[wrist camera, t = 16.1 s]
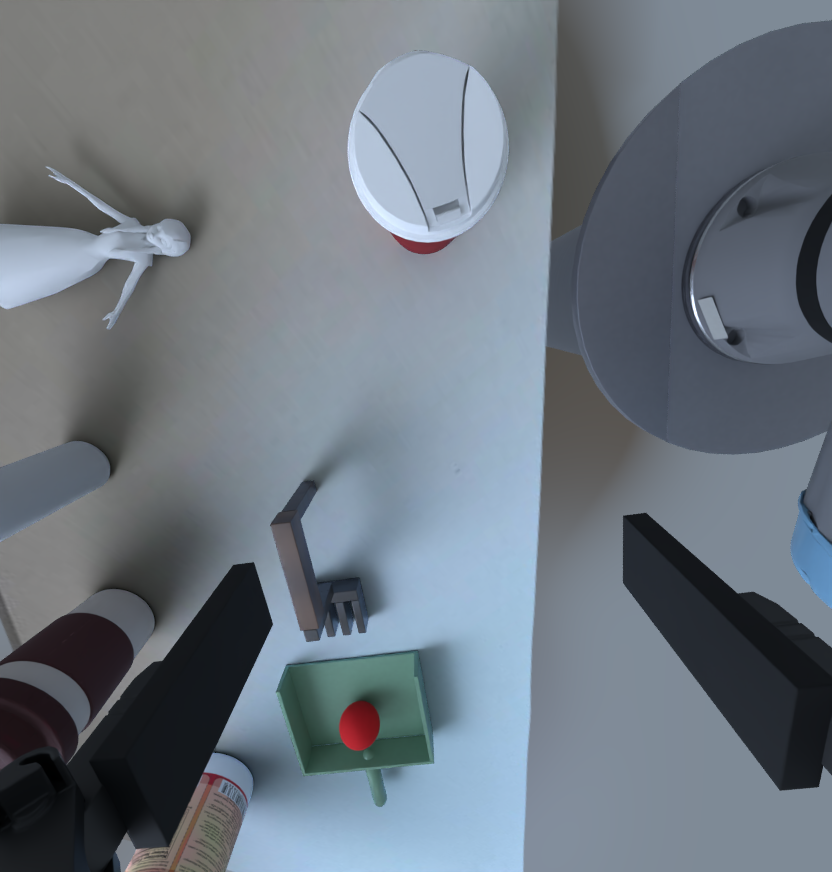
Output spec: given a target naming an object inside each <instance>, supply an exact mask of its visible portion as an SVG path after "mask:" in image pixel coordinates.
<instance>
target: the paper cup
mask: <svg viewBox="0 0 832 872" xmlns="http://www.w3.org/2000/svg"><path fill="white" fill-rule="evenodd" d="M508 156H509V137H508V130H507V124H506V120H505V117H504V114H503V110H502V108H501V106H500V104H499V101H498V99H497V97H496V95H495V94H494V92H493V91H492V89H491V88H490V86H489V85H488V83H487V82H486V80H485V79H484V78H483V77H482V75H481V74H480V73H479V72H478V71H477V70H476V69H475V68H474V67H472V66H471V65H470V67H469V65H468V64H466V63H464V62H462V61H459V60H457V59H455V58H452V57H449V56H446V55H444V54H439V53H434V52H429V51H422V50H419V51H412V52H409V53H406V54H404V55H401V56H399V57H397V58H395V59H394V60H392V61H391V62H389V63H387V64H386V65H385V66H384V67H382V68H381V69H380V70H378V71H377V73H376V74H375V76H374V78H373V79H372V81H371V83H370V84H369V86H368V87H367V89H366V90H365V92H364V93H363V95H362V96H361V98H360V100H359V102H358V104H357V107H356V109H355V111H354V114H353V117H352V121H351V124H350V129H349V136H348V162H349V170H350V174H351V178H352V182H353V185H354V187H355V189H356V192H357V194H358V197H359V198H360V200H361V202H362V203H363V205H364V207H365V208H366V210H367V211H368V212H369V213H370V215H371V216H372V217H373V218H374V219H375V220H376V221H377V222H378V223H379V224H380V225H381V226H383V227H384V228H385V229H387V230H388V231H390V233H391V234H392V235H393V237H394V238H395V239H396V240H397V241H398V242H399V243H400V244H401V245H402V246H403V247H404V248H406V249H407V250H409V251H411V252H414V253H418V254H430V253H434V252H437V251H439V250H441V249H443V248H444V247H445V246H447V245H448V244H449V243H450V242H451V241H452V240H453V239H454V238H455V237H456V236H458V235H460V234H462V233H464V232H465V231H467V230H468V229H470V228H471V227H473V226H474V225H475V224H476V223H477V222H478V221H479V220H480V219H481V218H482V217H483V216H484V215H485V214H486V212H487V211H488V210H489V209H490V207H491V206H492V204H493V203H494V201H495V199H496V197H497V196H498V194H499V191H500V189H501V186H502V184H503V182H504V178H505V174H506V170H507V165H508Z"/></svg>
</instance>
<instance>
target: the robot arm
mask: <svg viewBox="0 0 832 872" xmlns="http://www.w3.org/2000/svg"><path fill="white" fill-rule="evenodd" d="M681 293H682V302H683V307H684V311H685V314H686V317H687V320H688V322H689V324H690V326H691V328H692V330H693V331H694V333H695V334H696V336H697V337H698V338H699V339H700V340H701V341H702V342H703V343H704V344H705V345H706V346H707V347H708V348H709V349H711V350H712V351H714V352H715V353H717V354H719V355H721V356H723V357H725V358H728V359H731V360H735V361H740V362H746V363H753V364H784V363H792V362H797V361H802V360H806V359H811V358H816V357H820V356H825V355H830V354H832V152H821V153H813V154H808V155H803V156H798V157H794V158H791V159H788V160H785V161H782V162H780V163H777V164H775V165H772V166H770V167H768V168H765V169H763V170H761V171H758V172H756V173H755V174H753V175H751V176H749V177H747V178H746V179H744V180H743V181H741V182H740V183H738V184H737V185H736V186H734V187H733V188H732V189H731V190H729V191H728V192H727V193H726V194H725V195H724V196H723V197H722V198H721V199H720V200H719V201H718V202H717V203H716V204H715V205H714V206H713V208H712V209H711V210H710V211H709V213H708V214H707V215H706V217H705V218H704V220H703V221H702V223H701V224H700V226H699V228H698V229H697V231H696V233H695V235H694V237H693V239H692V241H691V244H690V246H689V249H688V252H687V255H686V259H685V262H684V267H683V272H682V283H681ZM798 507H799V515H798V519H797V522H796V526H795V530H794V533H793V537H792V540H791V556H792V559H793V562H794V565H795V567H796V569H797V570H798V572H799V573H800V575H801V576H802V578H803V579H804V580H805V581H806V582H807V583H808V584H809V585H810V586H811V589H812V590H813V592H814V593H815V594H816V595H817V596H818V597H819V598H820V599H821V600H822V601H823V602H824V603H826V604H827V605H828V606H829V607H830V608H831V609H832V420H831V423H830V425H829V428H828V431H827V434H826V437H825V440H824V442H823V445H822V448H821V451H820V453H819V456H818V459H817V462H816V465H815V467H814V470H813V473H812V476H811V478H810V481H809V484H808V487H807V489H806V490H804V491H802V492H801V494H800V496H799V499H798ZM623 583H624V585H625V586H626V588H627V589H628V590H629V592H630V593H631V594H632V595H633V597H634V598H635V599H636V601H637V602H638V603H639V605H640V606H641V607H642V609H643V610H644V611H645V613H646V614H647V615H648V617H649V618H650V619H651V621H652V622H653V623H654V625H655V626H656V627H657V628H658V630H659V631H660V633H661V634H662V635H663V636H664V638H665V639H666V640H667V642H668V643H669V644H670V646H671V647H672V648H673V650H674V651H675V652H676V654H677V655H678V656H679V658H680V659H681V660H682V662H683V663H684V664H685V666H686V667H687V668H688V670H689V671H690V672H691V673H692V675H693V676H694V677H695V679H696V680H697V681H698V682H699V684H700V685H701V687H702V688H703V689H704V691H705V692H706V693H707V695H708V696H709V697H710V698H711V700H712V701H713V703H714V704H715V705H716V707H717V708H718V709H719V710H720V712H721V713H722V714H723V716H724V717H725V718H726V720H727V721H728V722H729V724H730V725H731V726H732V728H733V729H734V730H735V732H736V733H737V734H738V736H739V737H740V738H741V740H742V741H743V742H744V743H745V745H746V746H747V747H748V749H749V750H750V751H751V753H752V754H753V755H754V757H755V758H756V759H757V761H758V762H759V763H760V765H761V766H762V767H763V769H764V770H765V771H766V773H767V774H768V775H769V777H770V778H771V779H772V781H773V782H774V783H775V785H776V786H777V787H778V788H779V790H792V789H803V788H814V787H819V783H820V779H821V773H822V769H823V766H824V767H825V768H826V769H827V770H828V771H829V773H830V774H831V775H832V648H831V647H830V646H828V645H827V644H826V643H825V642H824V641H823V640H821V639H820V638H819V637H815V636H814V633H813V632H812V631H810V630H809V629H808V628H807V627H805V626H804V625H803V624H802V623H798V620H797V619H796V618H794V617H793V616H792V615H790V614H789V613H788V612H786V610H784V609H783V608H782V607H780V606H779V605H778V604H776V603H774V602H772V601H771V600H768V599H766V598H765V597H763V596H761V595H759V594H757V593H755V592H748V593H739V594H738V593H736V592H735V591H734V590H733V589H732V588H731V587H729V586H728V585H727V584H726V583H725V582H724V581H723V580H722V579H720V578H719V577H718V576H717V575H716V574H715V573H714V572H713V571H711V570H710V569H709V568H708V567H707V566H706V565H705V564H703V563H702V562H701V561H700V560H699V559H698V558H697V557H695V556H694V555H693V554H692V553H691V552H690V551H689V550H688V549H686V548H685V547H684V546H683V545H682V544H681V543H680V542H678V541H677V540H676V539H675V538H674V537H673V536H672V535H670V534H669V533H668V532H667V531H666V530H665V529H664V528H662V527H661V526H660V525H659V524H658V523H657V522H656V521H655V520H653V519H652V518H651V517H650V516H649V515H648V514H647V513H641V514H633V515H626V516H623ZM272 625H273V623H272V619H271V616H270V613H269V610H268V606H267V603H266V600H265V597H264V593H263V590H262V587H261V584H260V580H259V577H258V574H257V571H256V567H255V564H254V562H252V563H245V564H237V565H233V566H232V568H231V569H230V570H229V572H228V573H227V574H226V576H225V577H224V578H223V580H222V581H221V582H220V584H219V585H218V587H217V588H216V589H215V591H214V592H213V593H212V595H211V596H210V597H209V599H208V600H207V601H206V603H205V604H204V605H203V607H202V608H201V610H200V611H199V612H198V614H197V615H196V616H195V618H194V619H193V620H192V622H191V623H190V624H189V626H188V627H187V629H186V630H185V631H184V633H183V634H182V635H181V637H180V638H179V639H178V641H177V642H176V643H175V645H174V646H173V648H172V649H171V650H170V652H169V653H168V654H167V656H166V657H165V658H164V660H163V661H158V662H153V663H152V664H151V665H150V666H148V667H147V668H146V669H145V670H144V671H143V672H141V673H140V674H139V675H138V676H137V677H136V678H134V680H133V681H132V682H131V684H130V685H129V686H128V687H127V689H126V690H125V691H124V693H123V694H122V695H121V696H120V697H121V698H120V700H117V702H116V703H115V704H114V705H113V707H112V708H111V709H110V711H109V714H108V715H107V716H105V717H104V718H103V720H102V721H101V722H100V723H99V725H98V726H97V727H96V729H95V730H94V731H93V732H92V734H91V735H90V736H89V738H88V739H87V740H86V741H85V743H84V744H83V745H82V747H81V748H80V749H79V750H78V752H77V753H76V754H75V756H74V757H73V758H72V759H71V761H70V762H69V763H68V765H66V763H65V762H64V760H63V758H62V756H61V754H60V753H59V751H58V749H57V748H54V747H50V746H47V747H42V748H37V749H35V750H33V751H30V752H28V753H26V754H24V755H22V756H20V757H19V758H17V759H16V760H14V761H13V762H11V763H10V764H8V765H7V766H5V767H4V768H3V769H1V770H0V872H121V871H120V861H119V859H118V857H117V854H116V852H115V851H116V850H117V848H118V846H119V844H120V843H121V840H122V839H123V837H124V835H125V834H126V832H127V833H128V835H129V837H130V839H131V841H132V843H133V844H134V846H135V848H136V849H143V848H154V847H165V846H169V845H170V843H171V841H172V839H173V836H174V834H175V832H176V830H177V828H178V826H179V824H180V821H181V819H182V817H183V815H184V813H185V811H186V809H187V807H188V804H189V802H190V800H191V798H192V796H193V794H194V792H195V789H196V787H197V785H198V783H199V781H200V779H201V777H202V775H203V772H204V770H205V768H206V766H207V764H208V762H209V760H210V758H211V755H212V753H213V751H214V749H215V747H216V745H217V743H218V740H219V738H220V736H221V734H222V732H223V730H224V728H225V726H226V723H227V721H228V719H229V717H230V715H231V713H232V711H233V708H234V706H235V704H236V702H237V700H238V698H239V696H240V694H241V691H242V689H243V687H244V685H245V683H246V681H247V679H248V677H249V674H250V672H251V670H252V668H253V666H254V664H255V662H256V659H257V657H258V655H259V653H260V651H261V649H262V647H263V645H264V642H265V640H266V638H267V636H268V634H269V632H270V630H271V627H272Z"/></svg>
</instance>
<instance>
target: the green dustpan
mask: <svg viewBox="0 0 832 872" xmlns="http://www.w3.org/2000/svg"><path fill="white" fill-rule="evenodd" d="M276 694H277V697H278V700H279V703H280V706H281V709H282V713H283V716H284V719H285V722H286V725H287V728H288V731H289V734H290V737H291V740H292V743H293V746H294V750H295V753H296V756H297V759H298V762H299V765H300V768H301V771H302V774H303V776H312V775H322V774H332V773H342V772H352V771H363V770H366V773H367V777H368V781H369V785H370V789H371V793H372V796H373V800H374V803H375V805H376V806H378V807H382V806H383V805H384V804H385V803H386V800H387V795H386V791H385V786H384V782H383V778H382V774H381V770H380V769H383V768H393V767H403V766H413V765H424V764H434V747H433V731H432V725H431V720H430V714H429V709H428V703H427V698H426V692H425V687H424V681H423V676H422V670H421V665H420V659H419V654H418V651H411V652H402V653H393V654H384V655H375V656H366V657H357V658H348V659H339V660H330V661H322V662H313V663H304V664H295V665H286V667H285V669H284V672H283V675H282V677H281V680H280V683H279V685H278V688H277V691H276ZM356 701H366V702H369V703H370V704H372V705H373V706H374V707H375V709H376V710H377V712H378V714H379V718H380V729H379V733H378V736H377V738H376V739H378V740H375V741H374V742H373V744H372V745H371V746H369V747H368V748H366V749H364V750H360V751H356V750H352V749H350V748H348V747H347V746H346V745H345V744H344V743H343V741H342V739H341V736H340V732H339V723H340V719H341V716H342V714H343V712H344V710H345V709H346V708H347V707H348V706H349V705H350V704H352V703H354V702H356ZM423 734H425V735H423ZM414 735H417V736H414ZM404 736H408V737H404ZM394 737H398V738H394ZM384 738H388V739H384ZM335 743H339V744H335ZM325 744H329V745H325ZM316 745H319V746H316Z"/></svg>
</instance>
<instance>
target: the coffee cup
mask: <svg viewBox="0 0 832 872" xmlns="http://www.w3.org/2000/svg"><path fill="white" fill-rule="evenodd" d="M154 625H155V620H154V615H153V613H152V610H151V609H150V607H149V606H148V604H147V603H146V602H145V601H144V600H142V599H141V598H140V597H138V596H137V595H135V594H133V593H131V592H128V591H125V590H120V589H108V590H103V591H100V592H97V593H96V594H94V595H92V596H91V597H90V598H88V599H87V600H86V601H84V602H83V603H82V604H80V605H79V606H78V607H76V608H75V609H74V610H72V611H71V612H70V613H68V614H67V615H64V616H62V617H60V618H58V619H57V620H55V621H54V622H53V623H51V624H50V625H49V626H47V627H46V628H45V629H43V630H42V631H41V632H39V633H38V634H37V635H35V636H34V637H32V638H31V639H30V640H28V641H27V642H26V643H24V644H23V645H22V646H20V647H19V648H18V649H16V650H15V651H14V652H12V653H11V654H10V655H8V656H7V657H6V658H4V659H3V660H2V661H0V770H1V769H3V768H4V767H5V766H7V765H8V764H10V763H11V762H13V761H14V760H16V759H17V758H19V757H20V756H22V755H24V754H26V753H28V752H30V751H33V750H35V749H37V748H42V747H47V746H50V747H54V748H57V749H58V751H59V753H60V754H61V756H62V758H63V760H64V762H65V763H66V764H67V763H68V761H69V760H70V759H71V758H72V756H73V755H74V753H75V751H76V749H77V745H78V735H79V734H80V733H81V732H83V731H84V730H85V729H86V728H87V727H88V726H89V725H90V723H91V722H92V721H93V719H94V718H95V717H96V715H97V714H98V712H99V711H100V710H101V708H102V707H103V705H104V704H105V703H106V701H107V700H108V698H109V697H110V696H111V694H112V693H113V691H114V690H115V689H116V687H117V686H118V684H119V683H120V682H121V680H122V679H123V677H124V676H125V675H126V673H127V672H128V670H129V669H130V667H131V665H132V663H133V660H134V658H135V657H136V655H137V654H138V653H139V651H140V650H141V649H142V647H143V646H144V644H145V643H146V642H147V640H148V639H149V638H150V636H151V634H152V632H153V630H154Z"/></svg>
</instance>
